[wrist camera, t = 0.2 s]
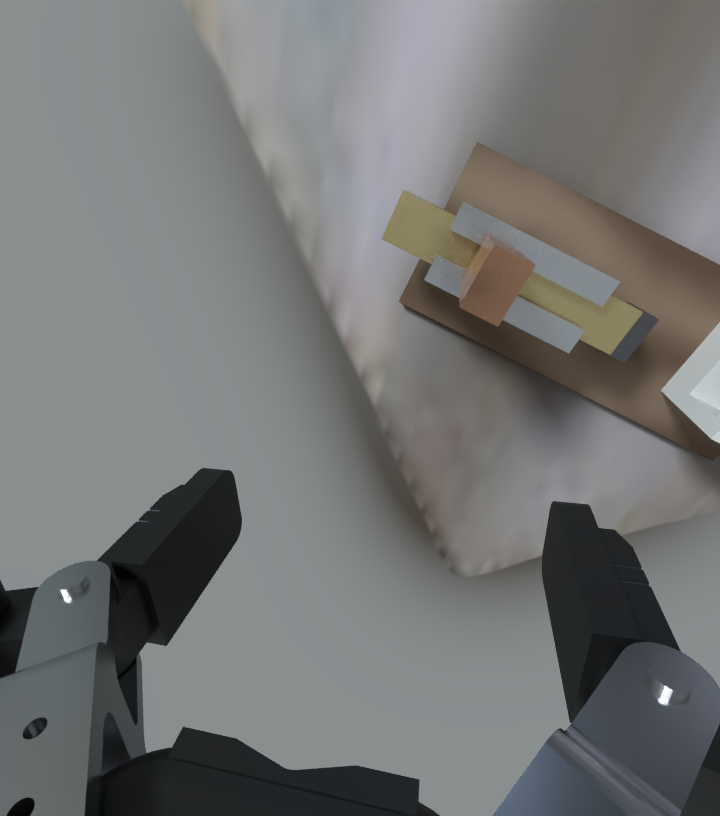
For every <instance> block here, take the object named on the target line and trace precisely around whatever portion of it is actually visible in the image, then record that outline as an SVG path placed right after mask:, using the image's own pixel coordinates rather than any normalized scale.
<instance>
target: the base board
mask: <svg viewBox="0 0 720 816" xmlns="http://www.w3.org/2000/svg"><path fill="white" fill-rule="evenodd" d="M463 202H465V203H467V204H469V205H471V206H473V207H475V208H477V209H479V210H481V211H483V212H485V213H487V214H489V215H491V216H493V217H494V218H496V219H498V220H500V221H502V222H504V223H506V224H508V225H510V226H512V227H514V228H516V229H518V230H520V231H522V232H524V233H526V234H528V235H530V236H532V237H534V238H536V239H538V240H540V241H542V242H544V243H546V244H548V245H550V246H552V247H554V248H556V249H558V250H559V251H561V252H563V253H565V254H567V255H569V256H571V257H573V258H575V259H577V260H579V261H581V262H583V263H585V264H587V265H589V266H591V267H593V268H595V269H597V270H599V271H601V272H603V273H605V274H607V275H609V276H611V277H612V278H614V279H616V280H618V281H620V283H619V285H618V286H617V287H616V289H615V290H614V292H613V293H612V295H614V296H616V297H618V298H620V299H622V300H624V301H626V302H630V303H632V304H634V305H635V306H637V307H639V308H641V309H643V310H645V311H646V312H648V313H650V314H651V315H653V316H655V317H656V318H658V319H659V320H658V322H657V323H656V324H655V326H654V327H653V328H652V329H651V331H650V332H649V333H648V334H647V336H646V337H645V338H644V339H643V341H642V342H641V343H640V344H639V346H638V347H637V348H636V349H635V351H634V352H633V353H632V355H631V356H630V357H629V358H628V360H627V361H626V362H625V363H623V362H621V361H619V360H617V359H615V358H613V357H611V356H610V355H609V354H607V353H605V352H603V351H601V350H599V349H597V348H595V347H594V346H592V345H590V344H588V343H586V342H584V341H582V340H580V339H579V340H578V342H577V343H576V344H575V346H574V347H573V349H572V350H571V351H570V353H567V352H565V351H563V350H561V349H559V348H557V347H555V346H553V345H551V344H549V343H547V342H545V341H543V340H541V339H539V338H537V337H535V336H533V335H531V334H529V333H527V332H525V331H523V330H522V329H520V328H518V327H516V326H514V325H512V324H510V323H508V322H506V321H504V320H502V321H501V323H500V325H499V326H498V327H497V326H495V325H493V324H491V323H489V322H487V321H485V320H483V319H481V318H480V317H478V316H476V315H474V314H472V313H470V312H468V311H466V310H464V309H462V308H460V307H459V298H458V297H456V296H455V295H453V294H451V293H449V292H447V291H445V290H443V289H441V288H439V287H437V286H435V285H433V284H431V283H429V282H427V281H425V280H424V279H425V277H426V275H427V273H428V271H429V269H430V267H431V265H432V264H430V263H428V262H426V261H424V260H422V259H420V260H419V262H418V264H417V266H416V268H415V270H414V272H413V274H412V276H411V278H410V280H409V282H408V284H407V286H406V288H405V290H404V292H403V294H402V296H401V298H400V300H399V302H400V303H402V304H404V305H406V306H408V307H410V308H412V309H414V310H416V311H418V312H420V313H422V314H424V315H426V316H428V317H430V318H432V319H434V320H436V321H438V322H440V323H442V324H444V325H446V326H448V327H450V328H452V329H454V330H455V331H457V332H459V333H461V334H463V335H465V336H467V337H469V338H471V339H473V340H475V341H477V342H479V343H481V344H483V345H485V346H487V347H489V348H491V349H493V350H495V351H497V352H499V353H501V354H503V355H505V356H507V357H509V358H511V359H513V360H515V361H517V362H519V363H521V364H523V365H524V366H526V367H528V368H530V369H532V370H534V371H536V372H538V373H540V374H542V375H544V376H546V377H548V378H550V379H552V380H554V381H556V382H558V383H560V384H562V385H564V386H566V387H568V388H570V389H572V390H574V391H576V392H578V393H580V394H582V395H584V396H586V397H588V398H590V399H592V400H593V401H595V402H597V403H599V404H601V405H603V406H605V407H607V408H609V409H611V410H613V411H615V412H617V413H619V414H621V415H623V416H625V417H627V418H629V419H631V420H633V421H635V422H637V423H639V424H641V425H643V426H645V427H647V428H649V429H651V430H653V431H655V432H657V433H659V434H661V435H663V436H664V437H666V438H668V439H670V440H672V441H674V442H676V443H678V444H680V445H682V446H684V447H686V448H688V449H690V450H692V451H694V452H696V453H698V454H700V455H702V456H704V457H706V458H708V459H710V460H712V461H713V460H714V459H715V458H716V457H717V456H718V455H719V454H720V443H718V442H716V441H714V440H712V439H711V438H710V437H709V436H708V435H706V434H705V433H704V432H703V431H702V430H701V429H700V428H699V427H698V426H697V425H696V424H695V423H694V422H693V421H692V420H691V419H690V418H689V417H688V416H687V415H686V414H685V413H684V412H683V411H681V410H680V409H679V408H678V407H677V406H676V405H675V404H674V403H673V402H672V401H671V400H670V399H669V398H668V397H667V396H666V395H665V394H664V393H663V392H662V391H661V390H662V388H663V387H664V386H665V385H666V384H667V383H668V381H669V380H670V379H671V378H672V377H673V376H674V375H675V373H676V372H677V371H678V370H679V369H680V368H681V366H682V365H683V364H684V363H685V362H686V361H687V359H688V358H689V357H690V356H691V355H692V354H693V353H694V351H695V350H696V349H697V348H698V347H699V346H700V344H701V343H702V342H703V341H704V340H705V339H706V337H707V336H708V335H709V334H710V333H711V332H712V331H713V329H714V328H715V327H716V326H717V325H718V324H719V322H720V265H719V264H717V263H715V262H713V261H711V260H709V259H707V258H705V257H703V256H701V255H699V254H697V253H695V252H693V251H691V250H689V249H687V248H685V247H683V246H681V245H679V244H677V243H675V242H674V241H672V240H670V239H668V238H666V237H664V236H662V235H660V234H658V233H656V232H654V231H652V230H650V229H648V228H646V227H644V226H642V225H640V224H638V223H636V222H634V221H632V220H630V219H628V218H626V217H624V216H622V215H620V214H618V213H616V212H614V211H612V210H611V209H609V208H607V207H605V206H603V205H601V204H599V203H597V202H595V201H593V200H591V199H589V198H587V197H585V196H583V195H581V194H579V193H577V192H575V191H573V190H571V189H569V188H567V187H565V186H563V185H561V184H559V183H557V182H555V181H553V180H551V179H549V178H548V177H546V176H544V175H542V174H540V173H538V172H536V171H534V170H532V169H530V168H528V167H526V166H524V165H522V164H520V163H518V162H516V161H514V160H512V159H510V158H508V157H506V156H504V155H502V154H500V153H498V152H496V151H494V150H492V149H490V148H488V147H486V146H485V145H483V144H481V143H479V142H477V143H476V145H475V148H474V150H473V152H472V154H471V156H470V158H469V160H468V162H467V164H466V166H465V168H464V170H463V172H462V174H461V176H460V178H459V180H458V182H457V184H456V186H455V188H454V190H453V192H452V194H451V196H450V198H449V200H448V203H447V205H446V207H445V209H444V210H446V211H448V212H450V213H452V214H454V215H456V216H457V214H458V212H459V210H460V208H461V206H462V204H463Z"/></svg>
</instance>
